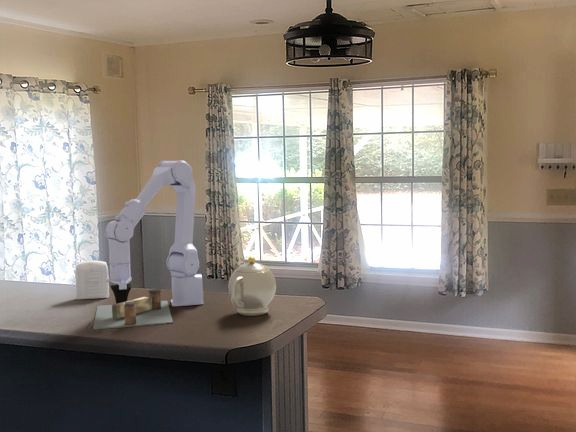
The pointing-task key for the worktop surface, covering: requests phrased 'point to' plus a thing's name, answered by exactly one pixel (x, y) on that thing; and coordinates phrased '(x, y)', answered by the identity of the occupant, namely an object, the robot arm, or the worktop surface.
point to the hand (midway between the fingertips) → (121, 309)
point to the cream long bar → (140, 304)
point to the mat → (142, 318)
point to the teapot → (252, 288)
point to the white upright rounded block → (92, 280)
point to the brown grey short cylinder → (155, 298)
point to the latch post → (130, 313)
